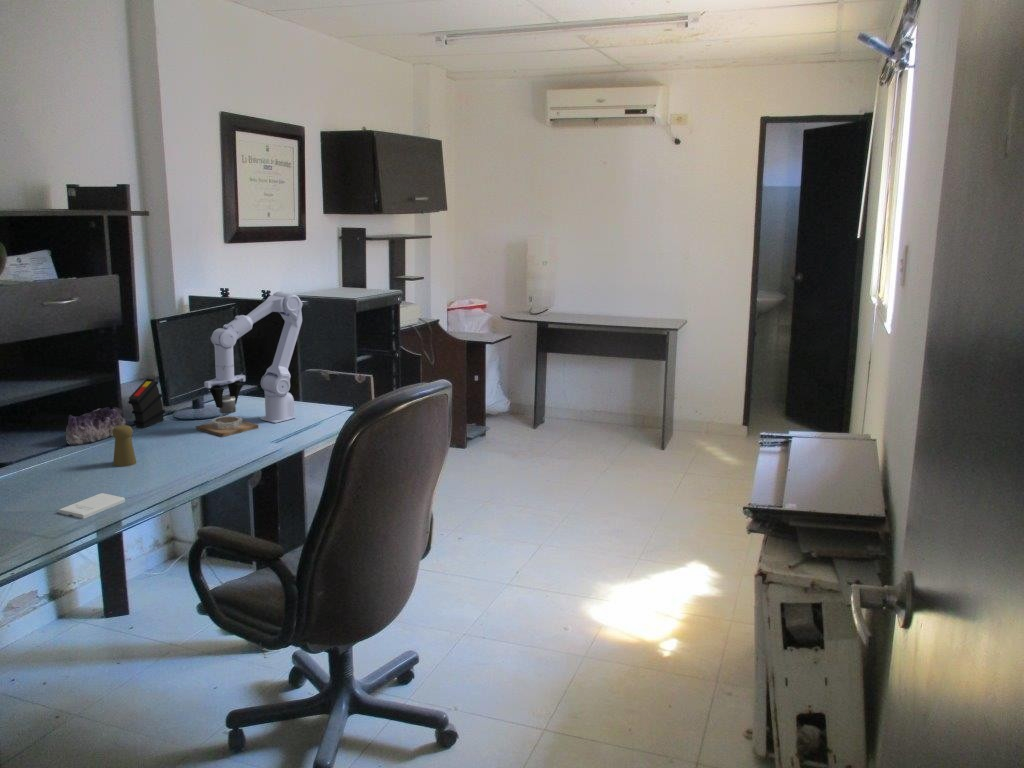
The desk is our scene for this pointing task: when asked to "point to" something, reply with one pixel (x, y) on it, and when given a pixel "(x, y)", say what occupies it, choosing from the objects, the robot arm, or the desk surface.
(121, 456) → the cork
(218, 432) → the walnut board
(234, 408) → the charcoal lens
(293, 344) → the robot arm
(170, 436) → the desk surface
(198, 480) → the desk surface
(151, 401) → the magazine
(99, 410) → the geode
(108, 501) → the external hard drive
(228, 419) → the mount ring
